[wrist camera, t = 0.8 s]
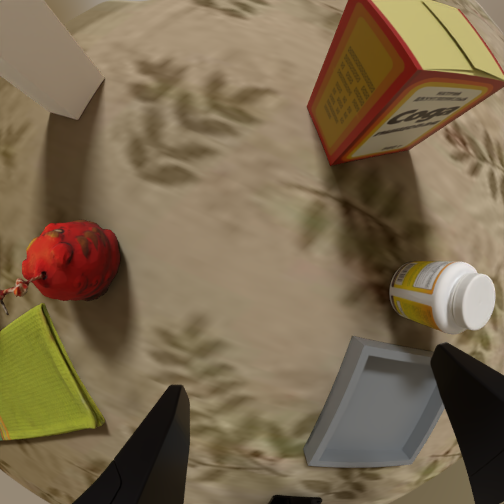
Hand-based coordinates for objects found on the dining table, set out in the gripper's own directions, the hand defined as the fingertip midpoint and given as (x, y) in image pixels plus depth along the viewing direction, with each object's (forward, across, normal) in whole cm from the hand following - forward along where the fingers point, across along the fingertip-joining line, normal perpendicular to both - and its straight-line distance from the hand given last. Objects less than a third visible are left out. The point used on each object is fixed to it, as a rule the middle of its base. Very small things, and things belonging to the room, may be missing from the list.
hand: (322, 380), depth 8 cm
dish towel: (+10, +39, +18) cm, 44 cm away
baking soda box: (+22, -10, -7) cm, 25 cm away
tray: (+9, -11, +19) cm, 23 cm away
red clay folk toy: (+17, +17, +3) cm, 24 cm away
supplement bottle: (+14, -13, +8) cm, 21 cm away
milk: (+25, +21, -15) cm, 36 cm away
